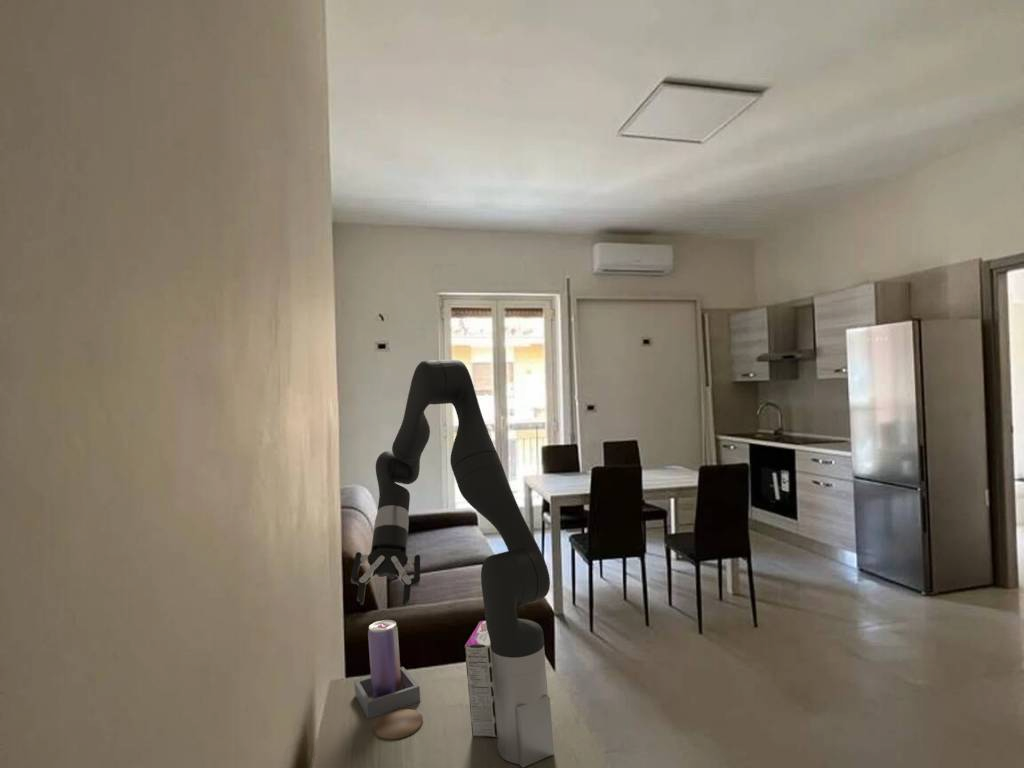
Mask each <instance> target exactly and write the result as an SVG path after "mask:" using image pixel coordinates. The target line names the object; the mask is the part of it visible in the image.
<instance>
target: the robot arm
mask: <svg viewBox="0 0 1024 768" xmlns="http://www.w3.org/2000/svg"><path fill="white" fill-rule="evenodd" d="M446 404H447V405H448V404H451V405H453V407H454V409H455V413H456V416H457V421H458V426H457V431H456V434H455V438H454V441H453V445H452V448H451V454H450V458H449V459H450V467H451V470H452V473H453V476H454V478H455V479H454V480H455V482H456V484H457V488H458V490H459V493H460V494H461V496H462V497H463V499H465V501H466V502H467V503H468V504H469V505H470V506H471V507H472V508H473V509H474V510H475V511H477V513H479V514H480V515H481V516H483V517H484V518H485V519H486V520H487V521H488V522H489V523H490V524H491V525H492V526H493V527H494V528H495V529H496V530H497V532H498V533H499V535H500V536H501V538H502V540H503V542H504V544H505V546H506V549H507V551H503V552H499V553H495V554H492V555H489V556H487V557H486V558H485V559H484V561H483V563H482V564H481V571H480V572H481V573H480V583H481V593H482V598H483V608H484V617H485V621H486V626H487V630H488V634H489V638H490V645H491V659H492V674H493V688H494V702H495V716H496V728H497V737H496V738H497V739H496V741H497V751H498V754H499V756H500V757H501V758H502V759H503V760H505V761H507V762H509V763H511V764H517V765H519V766H520V767H521V768H525V767H528V766H530V765H532V764H535V763H537V762H540V761H541V760H544V759H546V758H548V757H551V756H553V755H554V754H555V749H554V735H553V722H552V721H553V720H552V719H553V718H552V708H551V698H550V695H549V693H548V681H547V680H548V679H547V669H546V668H547V666H546V653H545V638H544V631H543V630H544V629H543V628H542V626H541V625H540V624H539V623H537V622H535V621H533V620H530V619H526V618H518V614H517V608H519V607H522V606H524V605H528V604H531V603H534V602H536V601H539V600H542V599H544V598H545V597H546V596H547V595H548V593H549V591H550V587H551V580H550V579H551V578H550V573H549V568H548V565H547V563H546V560H545V558H544V555H543V553H542V551H541V549H540V547H539V545H538V543H537V541H536V540H535V539H536V538H535V537H534V536H533V534H532V532H531V530H530V528H529V525H528V524H527V521H526V520H525V518H524V516H523V514H522V511H521V509H520V507H519V504H518V502H517V500H516V498H515V496H514V493H513V490H512V488H511V486H510V483H509V481H508V478H507V475H506V471H505V469H504V466H503V464H502V461H501V459H500V457H499V454H498V451H497V449H496V448H495V445H494V442H493V441H492V438H491V435H490V432H489V431H488V427H487V425H486V422H485V419H484V417H483V414H482V411H481V408H480V404H479V400H478V397H477V394H476V389H475V387H474V384H473V380H472V377H471V374H470V371H469V370H468V368H467V366H466V364H465V363H464V362H462V361H461V360H458V359H428V360H423V361H420V362H419V363H418V365H416V368H415V370H414V372H413V375H412V378H411V381H410V386H409V391H408V396H407V399H406V406H405V410H404V413H403V417H402V421H401V425H400V427H399V430H398V432H397V434H396V436H395V439H394V441H393V443H392V445H391V446H392V447H391V451H390V450H386V451H384V452H381V453H380V454H379V456H377V459H376V461H375V475H376V479H377V481H376V482H377V484H378V493H379V494H378V495H379V497H378V504H377V511H376V516H375V519H374V526H373V534H372V543H371V547H370V548H371V549H370V553H369V554H362V553H361V552H360V551H358V552H356V553H355V556H354V559H353V566H352V569H351V574H350V582H351V584H353V585H357V586H358V588H357V595H356V601H357V602H359V605H360V606H364V603H365V596H366V585H367V584H368V583H369V582H370V581H372V580H373V578H375V576H378V577H379V578H380V577H381V578H384V577H387V578H394V577H397V579H398V580H399V581H400V582H401V583H402V585H403V590H402V591H403V592H402V603H401V606H402V607H406V604H409V602H410V599H411V589H412V588H413V587H418V586H419V585H420V582H421V555H420V554H416V555H414V556H407V547H408V536H409V525H410V523H409V522H410V519H409V518H410V517H409V514H410V513H409V511H410V510H409V509H410V500H411V494H410V491H409V490H408V488H406V487H405V486H403V485H410V484H413V483H415V482H416V481H417V480H418V478H419V475H420V467H421V466H420V465H421V464H420V463H421V457H422V454H423V452H424V450H425V448H426V446H427V444H428V443H429V439H430V435H431V430H430V429H431V428H430V424H429V422H428V419H427V416H426V414H425V410H426V409H427V407H428V406H429V405H446ZM400 484H403V485H400ZM365 562H368V565H369V567H368V568H367V570H366V571H365V572H364V574H363V575H362V576H359V572H360V567H361V566H363V565H365ZM408 563H409V566H410V567H411V568H413V578H411V577H409V575H408V574H407V571H406V570H405V566H406V565H407V564H408Z"/></svg>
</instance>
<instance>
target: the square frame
mask: <svg viewBox="0 0 1024 768" xmlns="http://www.w3.org/2000/svg"><path fill="white" fill-rule="evenodd" d="M400 673H401V685H402V686H403V687H404V689H403V688H402V690H400V691H397V692H394V693H391V694H388V695H384V696H381V697H378V698H375V699H370V697H369V696H368V694H372V686H371V676H368V677H365V678H361V679H358V680H354V692H355V693H354V695H355V698H356V699H357V701H358V703H359V705H360V707H361V709H362V710H363V712H364V715H365V716H366V718H367V719H368V720H369V719H372V718H375V717H378V716H381V715H383V714H384V715H385V714H387V713H389V712H392V711H396V710H400V709H401V708H405V707H408V706H412V705H413V704H416V703H419V702H421V693H420V692H421V691H420V690H421V689H420V685H419V684H418V682H417V681H415V679H414V678H413V677H412V675H411V674H410V673H409V672H408V671H407V669H406V668H405V667H404V666H400Z"/></svg>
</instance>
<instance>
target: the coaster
mask: <svg viewBox="0 0 1024 768" xmlns="http://www.w3.org/2000/svg"><path fill="white" fill-rule="evenodd" d="M423 722H424V719H423V715H422V714H421V712H419V711H417V710H415V709H408V708H404V709H396V710H393V711H390V712H387V713H384V715H383V714H382V716H381V717H379V718H378V719H377V720H376V721H375V723H374V725H373V732H374V734H375V736H377V737H378V738H381V739H383V740H399V739H403V738H406V737H409V736H411V735H413V734H415V733H416V732H417V731H418V730H420V728H421V727H422V726H423Z"/></svg>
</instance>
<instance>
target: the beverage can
mask: <svg viewBox="0 0 1024 768" xmlns="http://www.w3.org/2000/svg"><path fill="white" fill-rule="evenodd" d="M398 628H399V627H398V626H397V622H396V621H395V620H391V619H384V620H377V621H375V622H373V623H372V624H370V625H369V626H368V631H367V637H368V638H367V640H368V653H369V667H370V677H371V686H372V693H371V698H372V699H375V698H378V697H381V696H384V695H388V694H391V693H394V692H397V691H400V690H403V688H402V683H401V673H400V667H401V662H400V661H401V660H400V646H399V645H400V644H399V630H398ZM372 699H371V700H372Z"/></svg>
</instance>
